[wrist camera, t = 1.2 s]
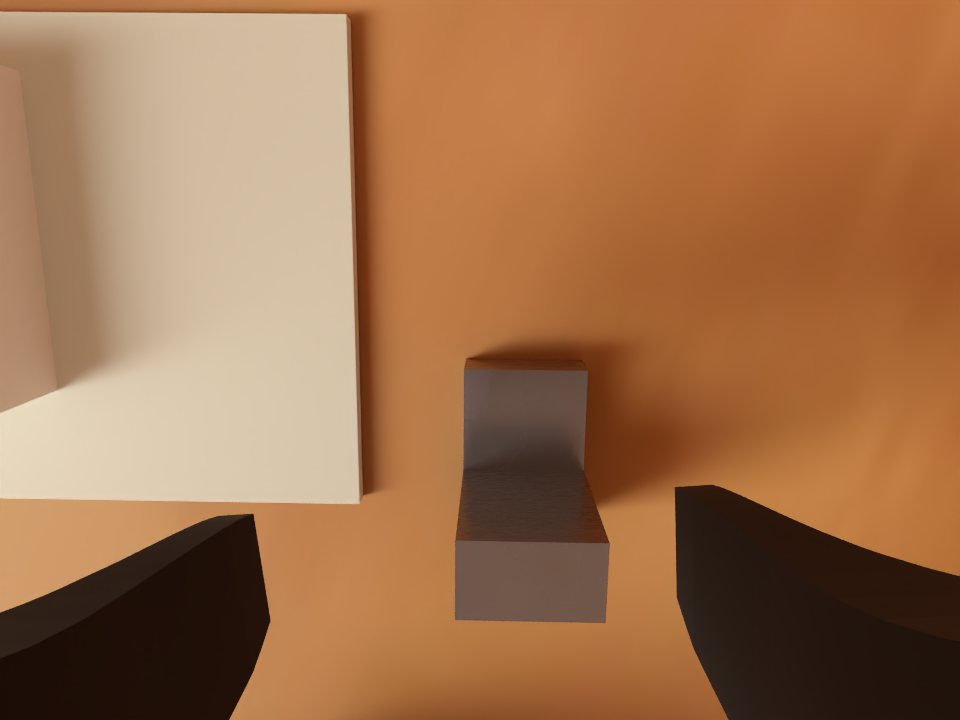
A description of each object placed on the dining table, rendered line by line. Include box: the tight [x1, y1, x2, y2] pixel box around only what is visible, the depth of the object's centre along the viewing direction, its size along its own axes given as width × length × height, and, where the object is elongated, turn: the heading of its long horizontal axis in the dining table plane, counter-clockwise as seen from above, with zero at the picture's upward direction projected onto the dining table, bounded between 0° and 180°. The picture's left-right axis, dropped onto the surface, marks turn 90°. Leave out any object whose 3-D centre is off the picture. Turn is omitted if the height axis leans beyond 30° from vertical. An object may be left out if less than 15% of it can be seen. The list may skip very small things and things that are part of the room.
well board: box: [0, 12, 363, 504], centre depth 19 cm, size 14×18×4 cm
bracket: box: [455, 359, 610, 623], centre depth 18 cm, size 5×4×6 cm
